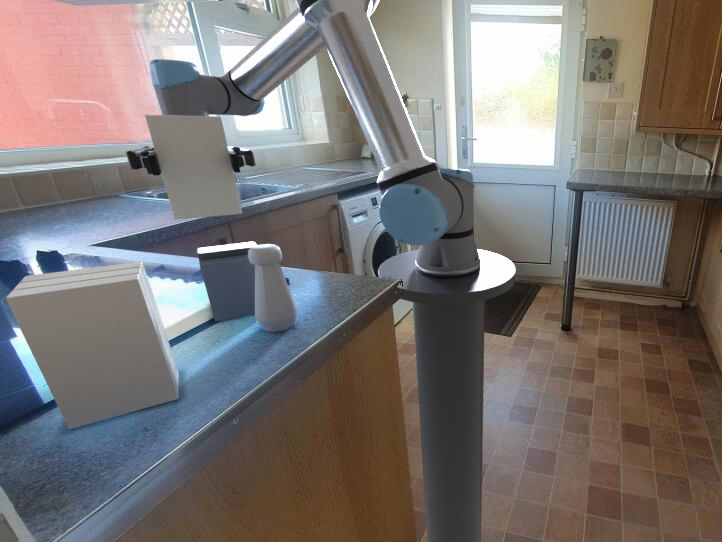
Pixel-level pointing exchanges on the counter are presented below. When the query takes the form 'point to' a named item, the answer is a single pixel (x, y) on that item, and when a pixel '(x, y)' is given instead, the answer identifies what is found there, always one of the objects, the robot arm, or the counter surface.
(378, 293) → the counter surface
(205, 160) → the white book
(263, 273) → the salt shaker
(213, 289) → the grey upright block
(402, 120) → the robot arm
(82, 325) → the white books
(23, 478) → the counter surface
